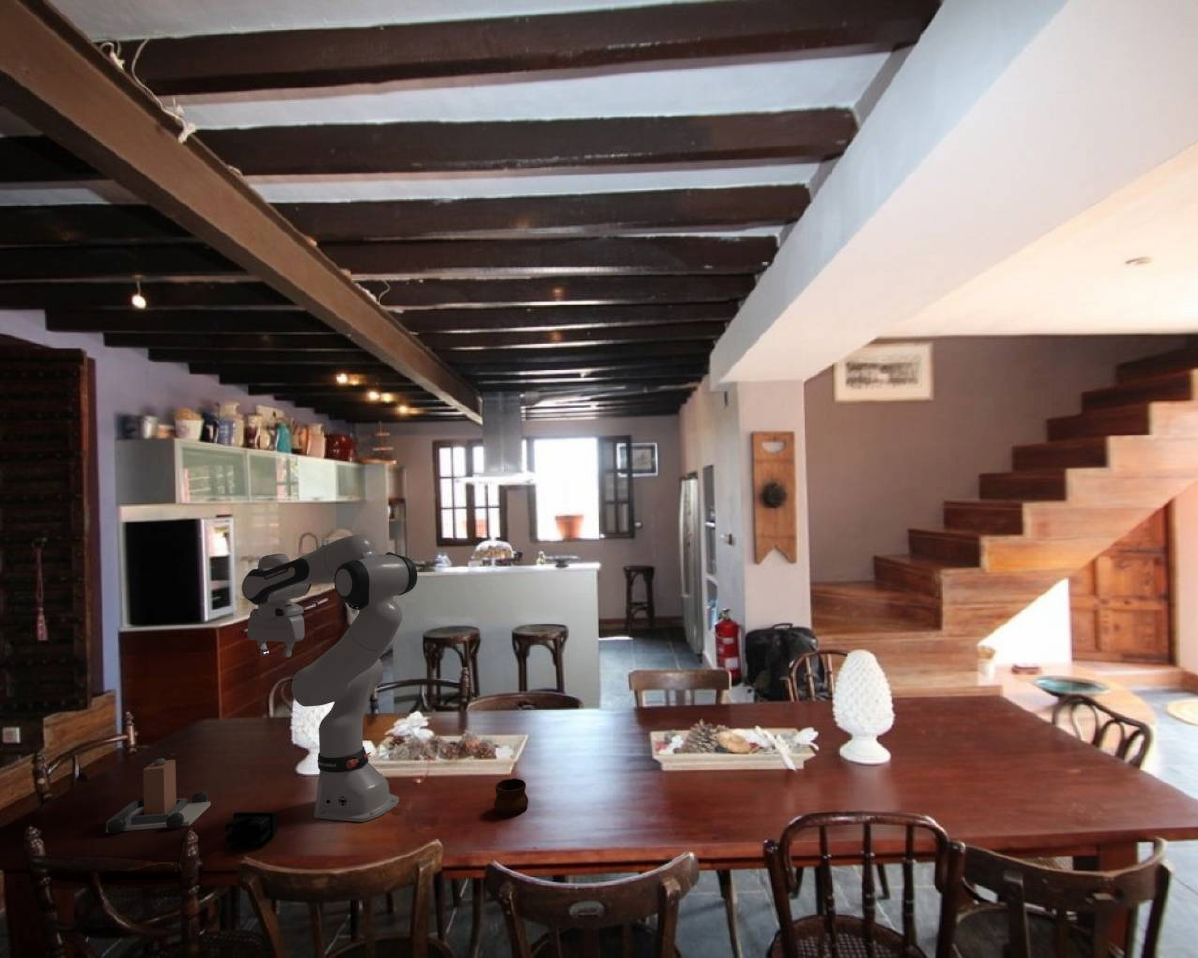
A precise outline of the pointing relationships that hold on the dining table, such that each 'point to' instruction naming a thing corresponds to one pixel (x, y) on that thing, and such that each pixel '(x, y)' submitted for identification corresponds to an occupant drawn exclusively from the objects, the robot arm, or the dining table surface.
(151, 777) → the tall wooden block
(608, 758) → the dining table surface
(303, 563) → the robot arm
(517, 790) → the ceramic pot
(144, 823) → the chassis
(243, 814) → the end cap
